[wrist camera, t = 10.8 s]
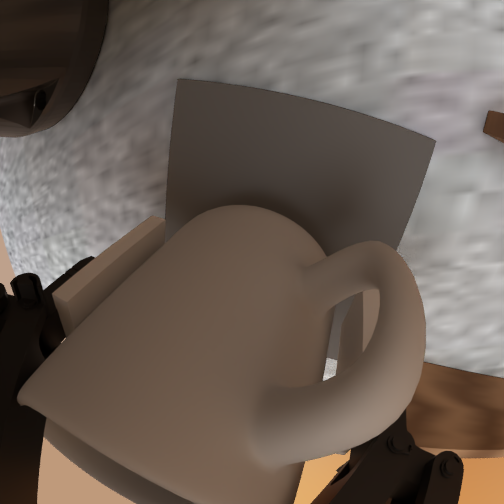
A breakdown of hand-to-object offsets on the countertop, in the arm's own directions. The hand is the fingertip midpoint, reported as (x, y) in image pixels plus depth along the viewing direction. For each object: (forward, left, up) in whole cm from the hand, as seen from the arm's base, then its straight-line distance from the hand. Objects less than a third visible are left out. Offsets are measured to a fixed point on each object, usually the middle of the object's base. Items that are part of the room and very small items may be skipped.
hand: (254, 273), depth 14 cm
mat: (0, 0, -4) cm, 4 cm away
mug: (+1, 0, -1) cm, 1 cm away
